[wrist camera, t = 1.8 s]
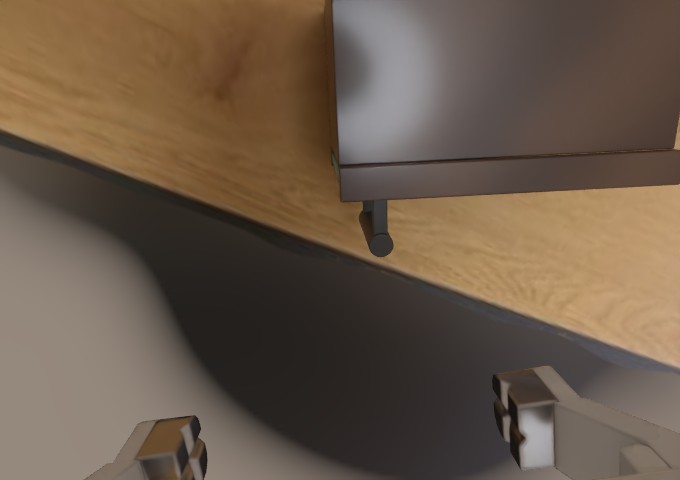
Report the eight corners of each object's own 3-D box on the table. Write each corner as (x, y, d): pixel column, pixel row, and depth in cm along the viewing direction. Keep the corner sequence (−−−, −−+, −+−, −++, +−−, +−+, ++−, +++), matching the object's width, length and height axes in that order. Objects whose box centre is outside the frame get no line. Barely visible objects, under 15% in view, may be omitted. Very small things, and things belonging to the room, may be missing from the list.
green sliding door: (335, 213, 37) (343, 263, 25) (332, 152, 36) (339, 174, 24) (448, 207, 38) (509, 253, 26) (450, 146, 36) (515, 165, 24)
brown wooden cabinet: (331, 167, 37) (340, 202, 23) (324, 10, 34) (328, -60, 20) (545, 156, 38) (680, 184, 24) (557, 1, 35) (723, -73, 21)
